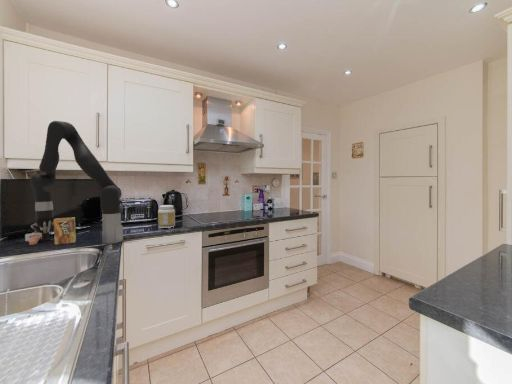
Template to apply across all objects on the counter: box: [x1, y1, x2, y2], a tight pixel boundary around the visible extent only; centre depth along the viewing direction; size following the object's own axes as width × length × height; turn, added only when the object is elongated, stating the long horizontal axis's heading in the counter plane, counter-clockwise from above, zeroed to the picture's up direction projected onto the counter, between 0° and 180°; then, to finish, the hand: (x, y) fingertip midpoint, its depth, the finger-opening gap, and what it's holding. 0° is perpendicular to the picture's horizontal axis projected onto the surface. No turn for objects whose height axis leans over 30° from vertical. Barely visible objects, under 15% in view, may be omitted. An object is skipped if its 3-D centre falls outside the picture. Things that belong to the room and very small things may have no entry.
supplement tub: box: [157, 204, 176, 229], centre depth 177 cm, size 12×12×17 cm
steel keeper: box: [24, 230, 42, 242], centre depth 135 cm, size 10×11×4 cm
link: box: [28, 232, 42, 246], centre depth 132 cm, size 22×5×3 cm, turn 39°
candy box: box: [53, 216, 77, 246], centre depth 128 cm, size 9×4×15 cm, turn 122°
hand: (45, 239), depth 132 cm, fingers closed
